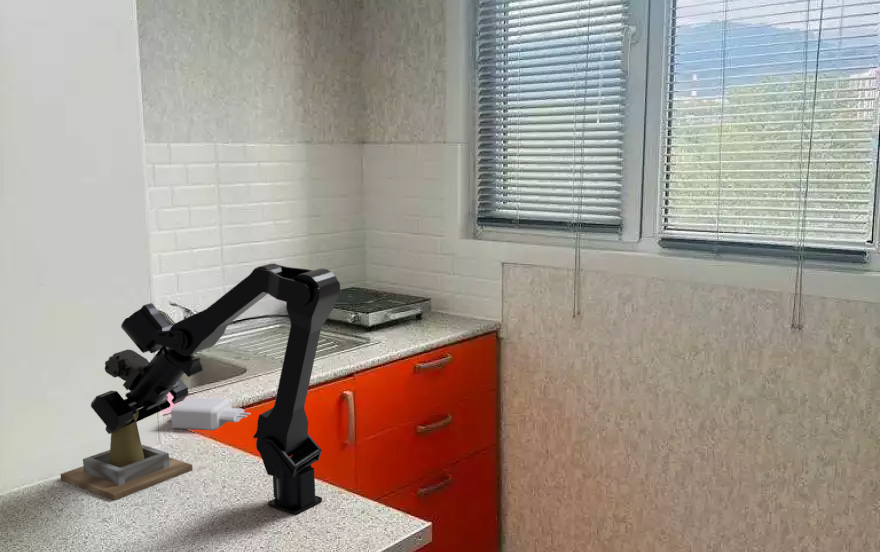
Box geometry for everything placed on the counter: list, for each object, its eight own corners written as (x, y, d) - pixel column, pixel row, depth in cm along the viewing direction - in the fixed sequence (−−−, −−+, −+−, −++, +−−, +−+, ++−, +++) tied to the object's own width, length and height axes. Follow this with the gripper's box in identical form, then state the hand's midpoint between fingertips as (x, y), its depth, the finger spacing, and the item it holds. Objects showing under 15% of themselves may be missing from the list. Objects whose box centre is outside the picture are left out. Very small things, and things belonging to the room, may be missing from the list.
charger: (240, 434, 178) (171, 430, 181) (257, 419, 187) (192, 416, 190) (239, 411, 177) (170, 408, 180) (256, 398, 186) (191, 395, 189)
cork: (144, 455, 160) (140, 397, 158) (145, 466, 154) (140, 406, 153) (109, 460, 158) (104, 401, 156) (108, 471, 152) (103, 410, 151)
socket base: (192, 469, 159) (191, 451, 158) (114, 500, 146) (113, 480, 145) (138, 452, 168) (137, 434, 167) (60, 479, 155) (59, 460, 154)
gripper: (170, 326, 160) (128, 379, 166) (94, 349, 143) (50, 408, 149) (209, 371, 158) (164, 423, 164) (136, 400, 141) (89, 458, 147)
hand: (118, 427), depth 156 cm, fingers closed on cork, 5 cm apart
